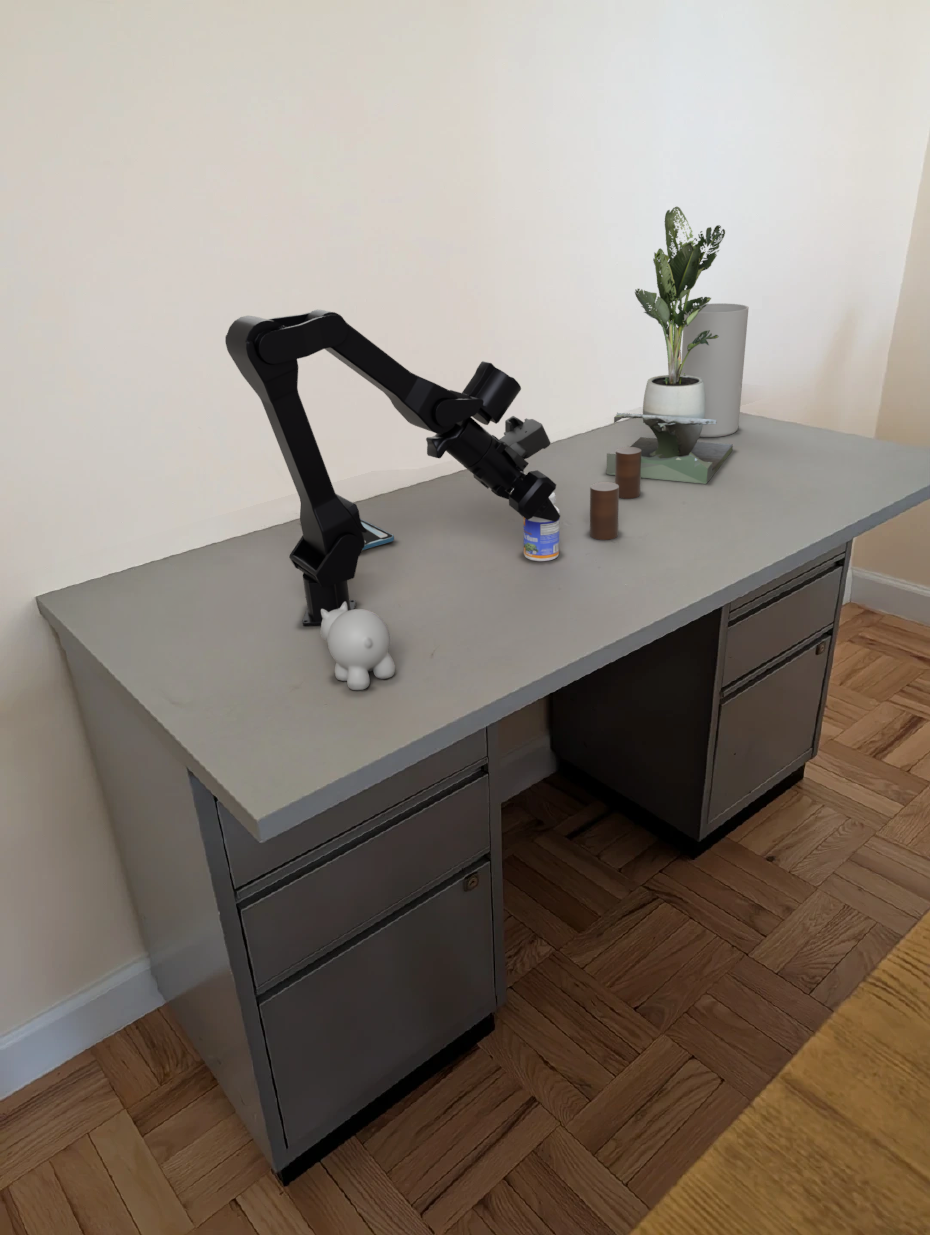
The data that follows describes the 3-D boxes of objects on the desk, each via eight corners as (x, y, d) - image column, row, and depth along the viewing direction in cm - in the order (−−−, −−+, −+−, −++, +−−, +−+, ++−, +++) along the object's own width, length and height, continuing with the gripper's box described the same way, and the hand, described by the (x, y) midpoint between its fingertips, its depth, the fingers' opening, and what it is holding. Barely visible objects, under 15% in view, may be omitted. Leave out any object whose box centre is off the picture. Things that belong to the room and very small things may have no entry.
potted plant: (706, 484, 160) (726, 209, 140) (606, 474, 168) (610, 213, 148) (732, 450, 178) (752, 201, 157) (640, 443, 185) (648, 205, 165)
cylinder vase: (701, 419, 199) (709, 302, 188) (750, 429, 190) (761, 306, 179) (665, 431, 192) (671, 310, 181) (714, 441, 183) (723, 314, 172)
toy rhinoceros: (356, 641, 114) (349, 580, 110) (405, 678, 105) (398, 613, 101) (305, 659, 110) (295, 597, 106) (350, 699, 101) (342, 633, 97)
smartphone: (352, 514, 154) (396, 536, 142) (352, 519, 154) (397, 541, 143) (313, 524, 150) (355, 548, 139) (314, 530, 151) (356, 553, 139)
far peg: (641, 498, 156) (643, 453, 152) (616, 499, 156) (617, 454, 152) (637, 489, 160) (639, 446, 156) (612, 491, 160) (613, 447, 156)
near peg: (619, 539, 139) (621, 490, 136) (591, 540, 140) (592, 491, 136) (615, 529, 143) (616, 481, 140) (588, 530, 143) (588, 482, 140)
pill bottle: (517, 553, 136) (516, 492, 132) (548, 546, 138) (548, 485, 134) (534, 565, 132) (533, 502, 128) (566, 557, 134) (566, 495, 130)
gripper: (541, 419, 116) (615, 488, 124) (489, 391, 132) (558, 454, 140) (487, 486, 117) (563, 550, 125) (442, 451, 133) (512, 510, 141)
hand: (549, 512), depth 133 cm, fingers closed on pill bottle, 5 cm apart
